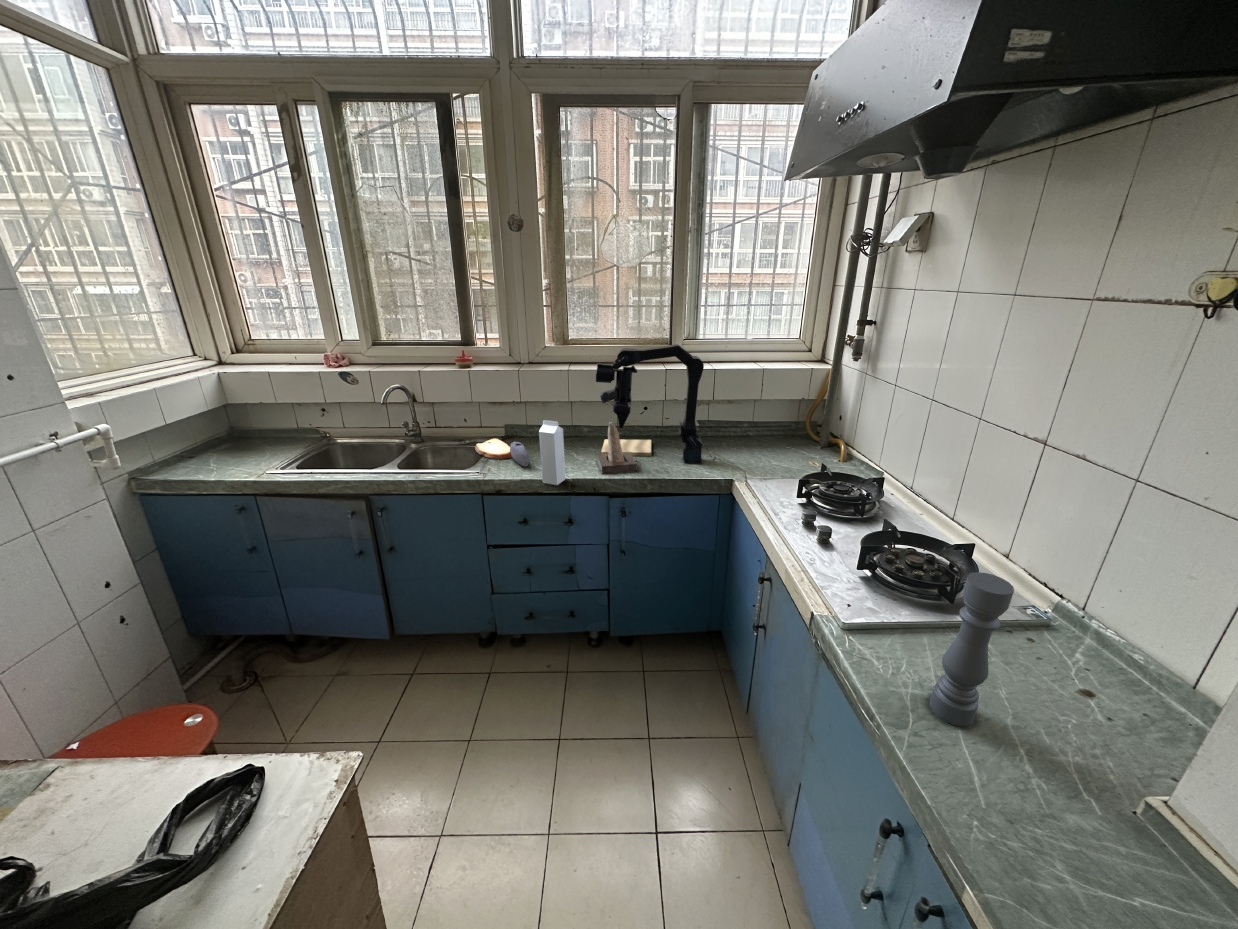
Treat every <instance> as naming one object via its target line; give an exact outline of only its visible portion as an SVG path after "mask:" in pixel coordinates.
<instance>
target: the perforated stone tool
mask: <svg viewBox="0 0 1238 929" xmlns="http://www.w3.org/2000/svg"><path fill="white" fill-rule="evenodd" d="M509 447H510V453H511V456H512V457H511V458H512V459H513V460H514V461H515V462H516V463H517V464H518V465H520V466H521V467H524V468H526V467H528V466H529V464H530V454H529V453H528V452H529V451H528V450H527V448H526V447H525V446H524V444H522V443H521V442H520V441H513V442H511V443H510V445H509Z"/></svg>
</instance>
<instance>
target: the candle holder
mask: <svg viewBox="0 0 1238 929" xmlns="http://www.w3.org/2000/svg"><path fill="white" fill-rule="evenodd" d="M1014 593H1015V588H1014V586H1013V584H1011V583H1010V582H1009V581H1008V580H1006V579H1004V578H1003V577H1000V576H997V575H995V574H992V573H989V572H988V573H987V572H982V571H981V572H980V571H979V572H978V571H976V572H970V573H969V574H967V577H966V580H965V584H964V587H963V590H962V599H963V603H964V605H965V606H962V607H961V608H960V609H959V612H958V613H959V618H960V619H961V623H960V627H959V631H958V633H957V635H956V636H955V638H954V639H953V641H952V642H951V643H950V645H949V646H948V648H947V649H946V651H945V652H944V653H943V654H942V658H941V666H942V669H943V671H944V674H943V675H940V677H939V678H937V682H936V683H935V684H934V685H933V688H932V692H931V695H930V699H929V707H930V709H931V711H932V712H933V713H934V714H935V715H936V717H937V718H939V719H941V720H942V721H944V722H945V723H947V724H949V725H953V726H955V727H967V726H971V725H972V724H973V723H974V720H975V717H976V715H977V711H978V708H979V699H980V697H979V696H980V695H979V690H978V689H977V687H978V686H980V685H982V684H983V683H984V682H985V681H986V680H987V679H988V677H989V643H990V641H991V638H992V634H993V632H994V631H997V630H999V629H1000V627H1001V626H1002V622H1001V619H999V617H1002V615H1004V614H1005V612H1007V611H1008V610H1009V608H1010V605H1011V603H1012V602H1011V601H1012V598H1013V596H1014Z"/></svg>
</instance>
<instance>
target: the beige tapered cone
mask: <svg viewBox="0 0 1238 929" xmlns="http://www.w3.org/2000/svg"><path fill="white" fill-rule="evenodd" d="M607 439H608V445H609V448H608V458H609V459H608V463H616V462H625V461H624V457H623V452H622V448H621V445H620V440H621V439H620V434H619V430H618V427H617V425H616V423H615V422H613V421H609V423H608V428H607Z"/></svg>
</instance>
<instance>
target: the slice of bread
mask: <svg viewBox="0 0 1238 929" xmlns="http://www.w3.org/2000/svg"><path fill="white" fill-rule="evenodd" d="M474 450H475V452H476V453H477V454H478V455H480V456H483V457H485V458H489V459H494V460H496V459H497V460H502V459H503V460H505V459H512V458H513V457H512V456H511V453H510V445H508V444H507V443H506V442H504V441H502V440H500V439H499V438H496V437H495V438H494V437H493V438H491V439H489V440H486V441H484V442H482V443H481V442H480V443H479V442H477V443H476V445H475V447H474Z"/></svg>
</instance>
